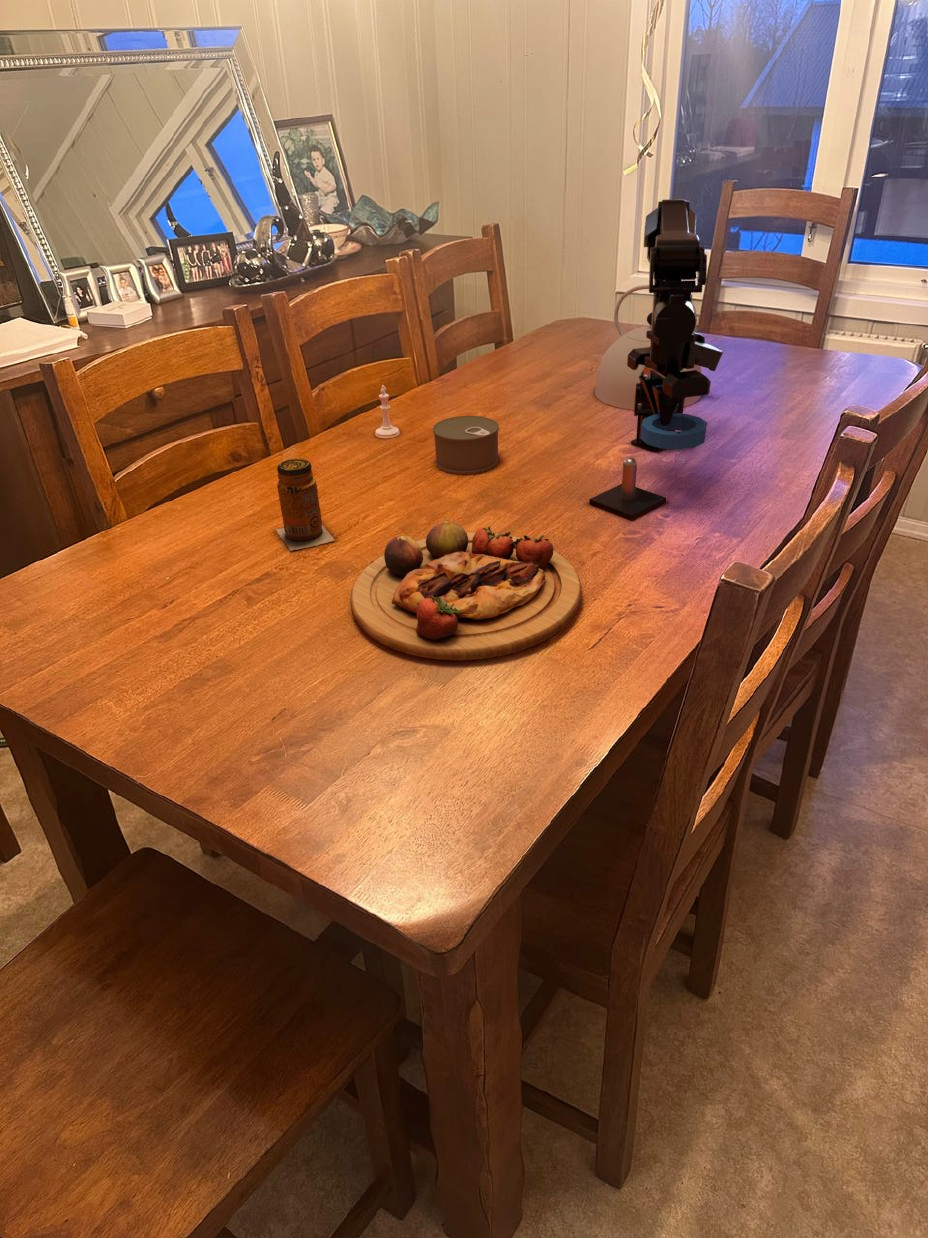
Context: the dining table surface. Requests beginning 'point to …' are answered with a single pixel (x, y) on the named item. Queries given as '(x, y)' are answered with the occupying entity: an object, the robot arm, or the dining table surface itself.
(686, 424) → the blue ring
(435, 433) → the can
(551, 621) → the wooden plate
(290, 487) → the condiment
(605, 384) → the kettle
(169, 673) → the dining table surface
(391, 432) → the chess piece
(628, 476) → the peg stand
